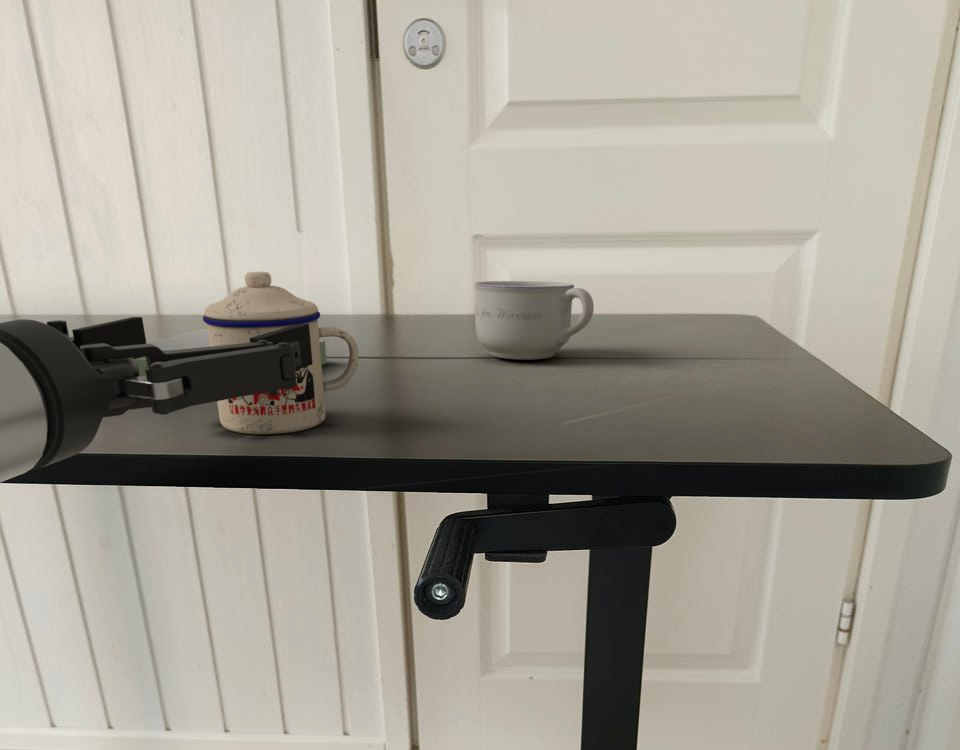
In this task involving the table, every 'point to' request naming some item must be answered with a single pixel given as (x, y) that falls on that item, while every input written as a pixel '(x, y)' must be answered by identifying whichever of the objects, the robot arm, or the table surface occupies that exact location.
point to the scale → (195, 346)
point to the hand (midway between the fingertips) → (221, 339)
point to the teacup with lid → (303, 403)
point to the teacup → (527, 317)
